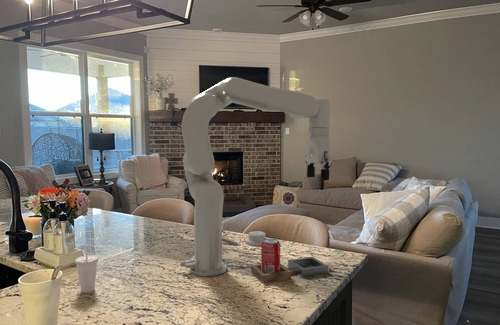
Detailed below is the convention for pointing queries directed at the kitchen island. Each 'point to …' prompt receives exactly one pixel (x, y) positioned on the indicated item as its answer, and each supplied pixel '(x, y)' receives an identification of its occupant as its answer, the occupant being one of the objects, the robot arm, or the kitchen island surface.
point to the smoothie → (87, 271)
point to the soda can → (270, 256)
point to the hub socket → (297, 264)
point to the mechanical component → (255, 238)
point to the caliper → (229, 241)
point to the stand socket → (270, 274)
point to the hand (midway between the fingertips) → (317, 178)
